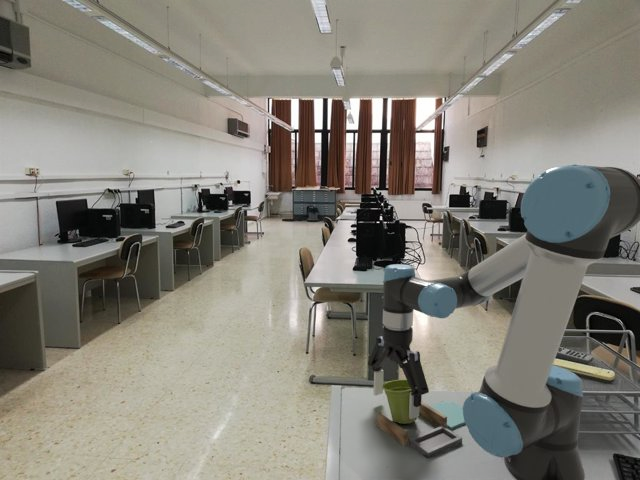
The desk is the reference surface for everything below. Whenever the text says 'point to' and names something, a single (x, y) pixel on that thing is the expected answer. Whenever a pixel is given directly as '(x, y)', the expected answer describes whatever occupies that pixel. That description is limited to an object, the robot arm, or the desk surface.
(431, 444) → the tray
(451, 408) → the pad
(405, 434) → the channel
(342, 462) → the desk surface
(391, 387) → the plant pot
